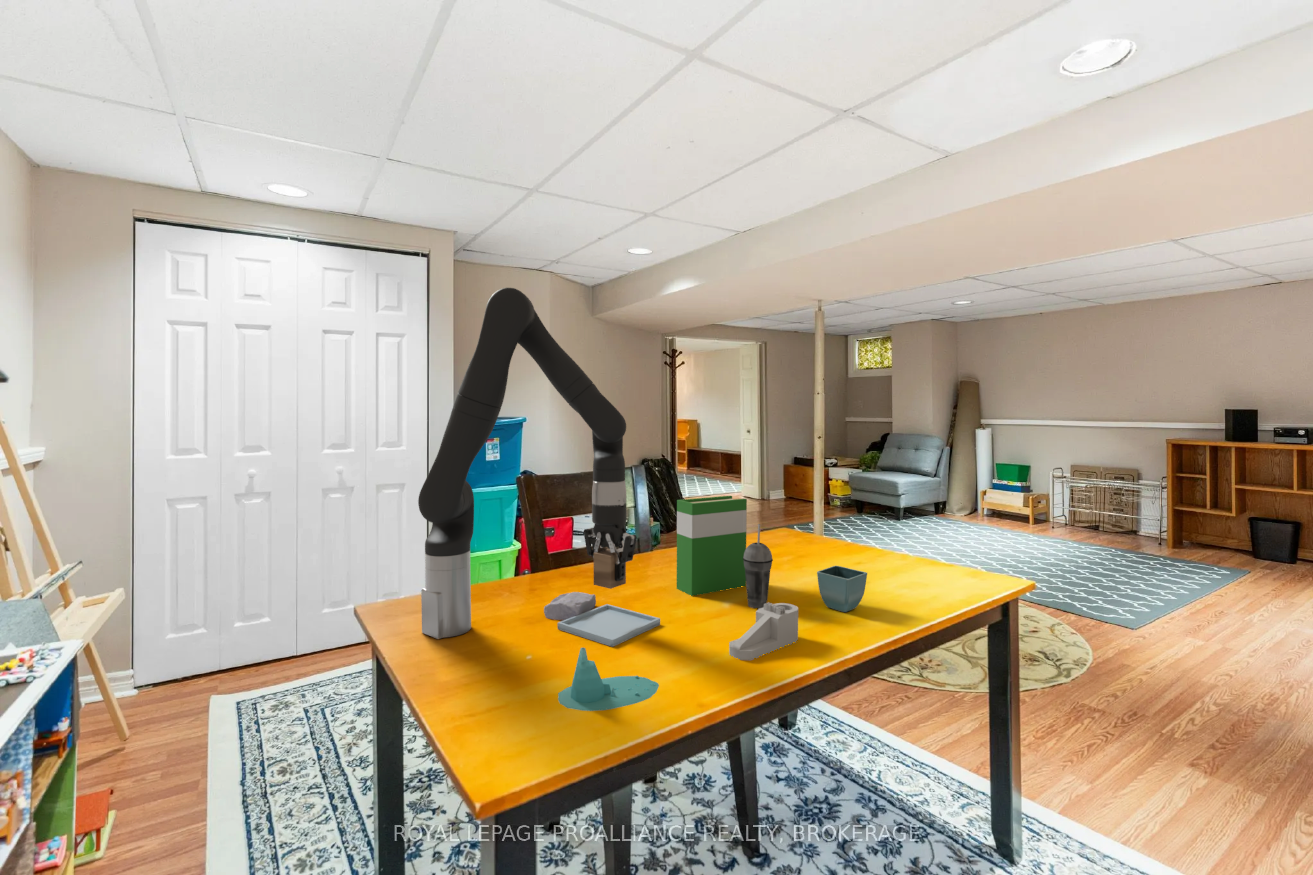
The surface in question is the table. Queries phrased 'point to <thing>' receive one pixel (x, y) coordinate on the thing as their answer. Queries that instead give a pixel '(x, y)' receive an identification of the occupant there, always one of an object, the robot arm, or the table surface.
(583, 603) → the stone block
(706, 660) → the table surface
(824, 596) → the flower pot
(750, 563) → the beverage cup
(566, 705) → the diorama
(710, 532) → the hardback book
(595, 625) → the dish
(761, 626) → the sloped support bracket
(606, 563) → the walnut block
